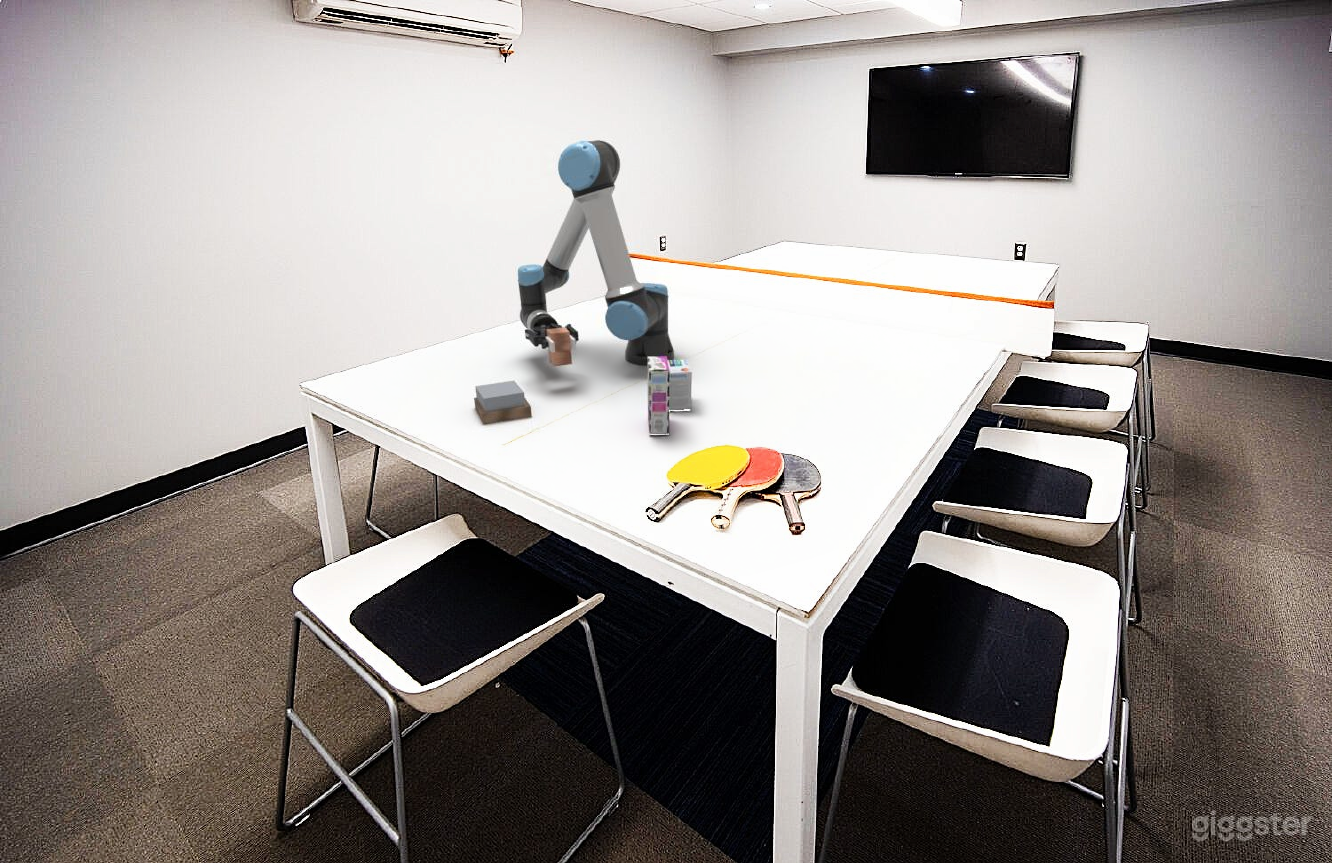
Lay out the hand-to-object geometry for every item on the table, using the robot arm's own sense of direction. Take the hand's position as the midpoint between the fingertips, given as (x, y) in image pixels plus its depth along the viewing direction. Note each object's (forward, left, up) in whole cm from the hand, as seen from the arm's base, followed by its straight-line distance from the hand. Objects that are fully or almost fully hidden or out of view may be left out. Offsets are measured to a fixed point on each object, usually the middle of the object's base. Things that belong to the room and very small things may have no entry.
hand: (563, 346), depth 192 cm
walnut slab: (+18, +5, -14) cm, 24 cm away
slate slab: (+19, +5, -11) cm, 22 cm away
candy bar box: (-15, +30, -14) cm, 36 cm away
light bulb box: (-25, +18, -14) cm, 34 cm away
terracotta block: (0, -5, -6) cm, 8 cm away
